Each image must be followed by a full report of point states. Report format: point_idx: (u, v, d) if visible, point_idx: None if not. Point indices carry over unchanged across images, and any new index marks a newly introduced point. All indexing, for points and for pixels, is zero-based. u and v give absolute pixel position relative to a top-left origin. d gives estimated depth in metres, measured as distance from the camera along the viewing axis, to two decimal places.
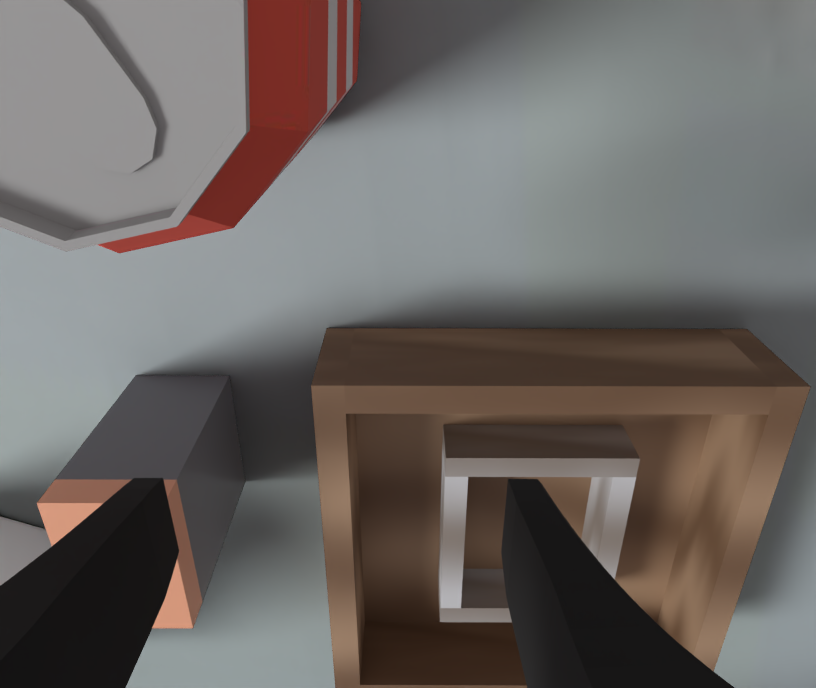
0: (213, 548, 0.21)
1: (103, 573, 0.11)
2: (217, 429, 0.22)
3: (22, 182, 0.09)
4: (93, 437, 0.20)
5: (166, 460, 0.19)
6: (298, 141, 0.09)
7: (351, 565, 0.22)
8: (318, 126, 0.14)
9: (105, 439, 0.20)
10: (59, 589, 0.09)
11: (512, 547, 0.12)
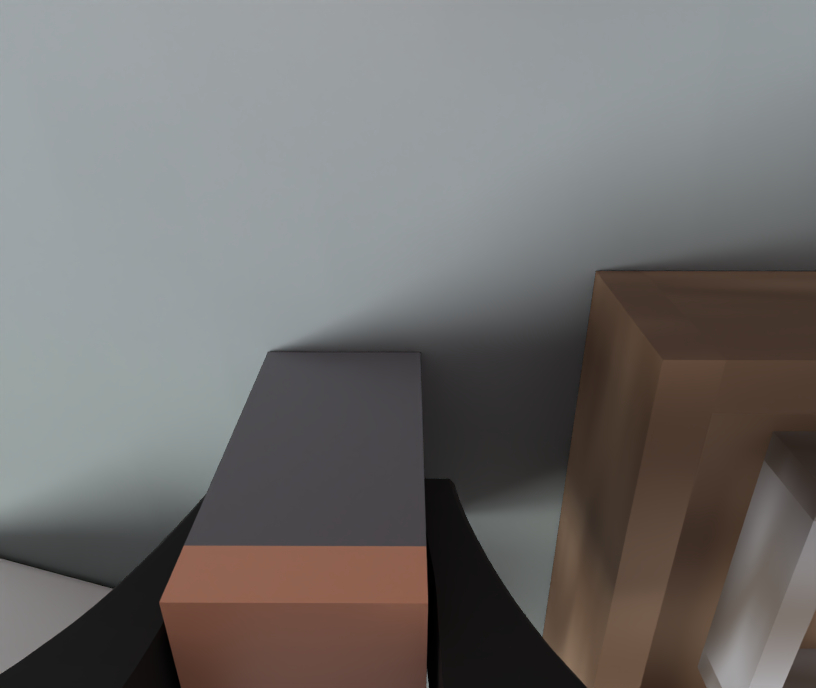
0: None
1: None
2: None
3: None
4: (232, 457, 0.11)
5: (387, 504, 0.10)
6: None
7: (641, 668, 0.13)
8: None
9: (256, 461, 0.11)
10: None
11: None
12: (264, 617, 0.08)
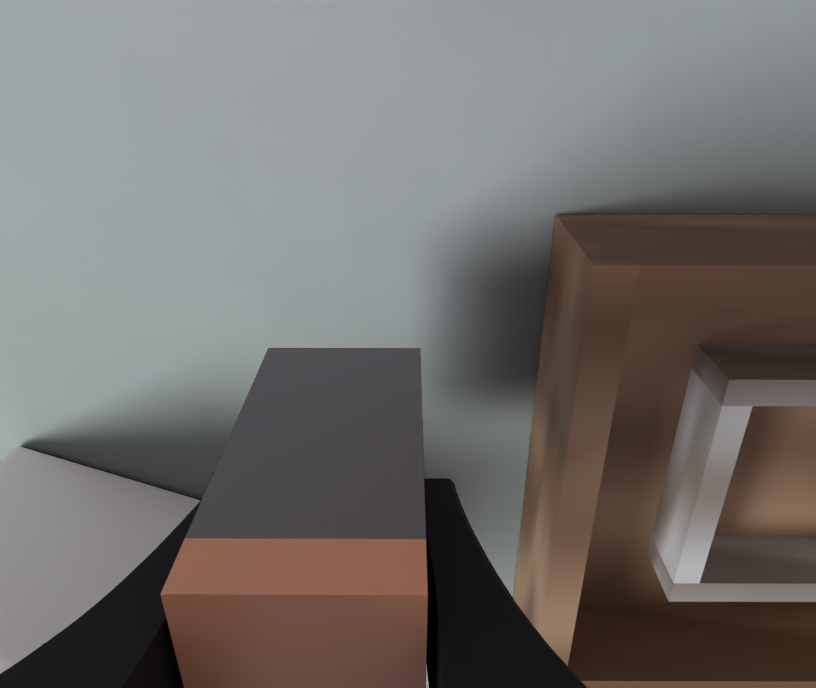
0: None
1: None
2: None
3: None
4: (233, 452, 0.11)
5: (386, 497, 0.10)
6: None
7: (590, 524, 0.17)
8: None
9: (256, 455, 0.11)
10: None
11: None
12: (264, 609, 0.08)
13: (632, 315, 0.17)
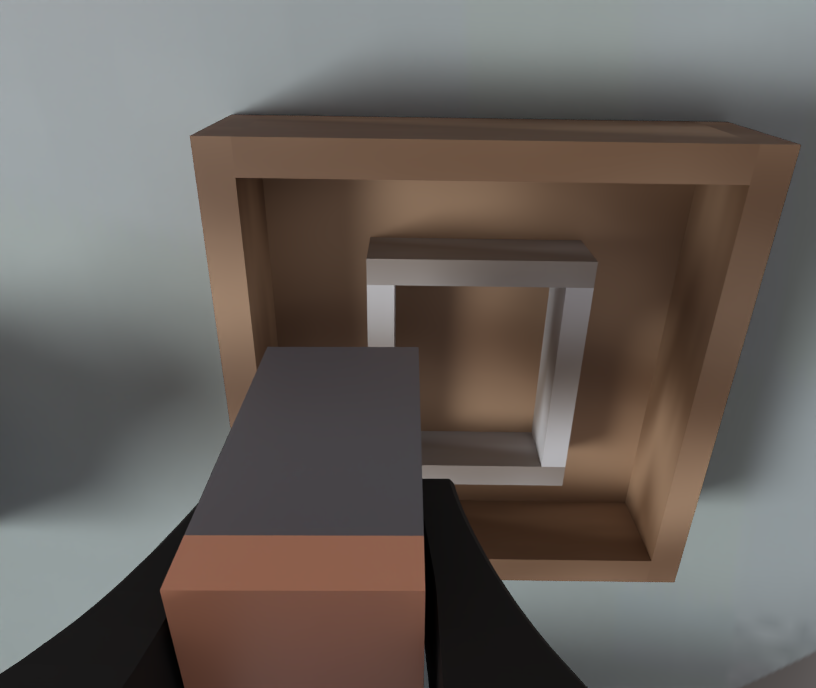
0: None
1: None
2: None
3: None
4: (232, 450, 0.11)
5: (385, 495, 0.10)
6: None
7: None
8: None
9: (255, 453, 0.11)
10: None
11: None
12: (263, 605, 0.08)
13: (305, 208, 0.19)
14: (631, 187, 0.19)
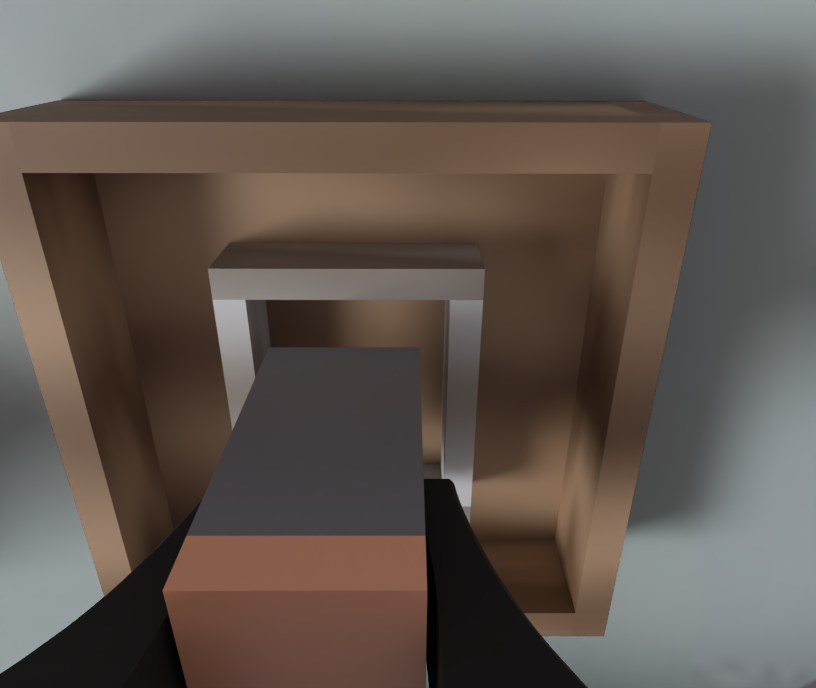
0: None
1: None
2: None
3: None
4: (234, 450, 0.11)
5: (386, 495, 0.10)
6: None
7: (89, 430, 0.16)
8: None
9: (257, 454, 0.11)
10: None
11: None
12: (266, 605, 0.08)
13: (149, 209, 0.16)
14: (530, 180, 0.16)
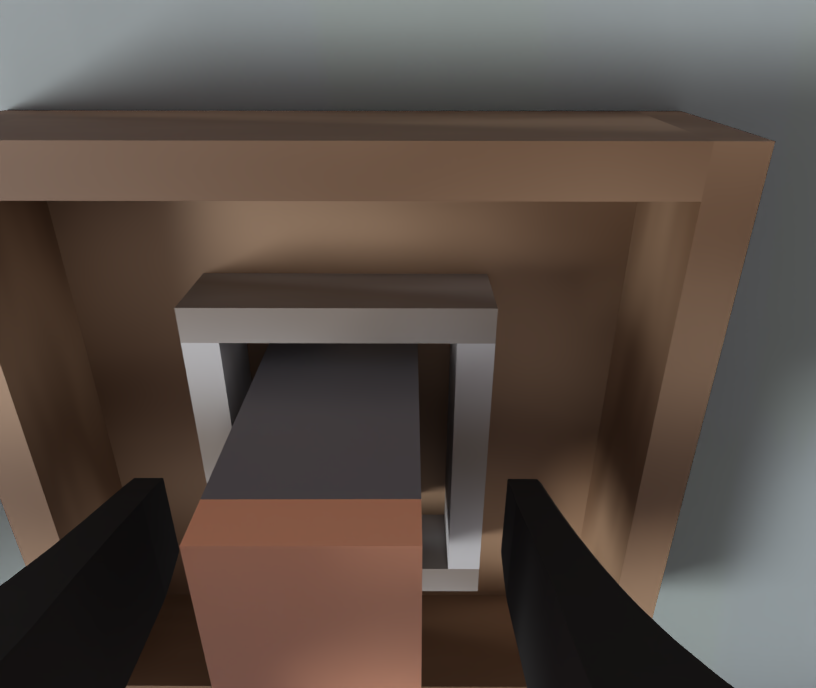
0: None
1: (103, 573, 0.11)
2: None
3: None
4: (242, 425, 0.12)
5: (385, 464, 0.11)
6: None
7: (40, 492, 0.14)
8: None
9: (264, 428, 0.12)
10: (59, 589, 0.09)
11: (512, 547, 0.12)
12: (274, 560, 0.09)
13: (110, 236, 0.14)
14: (549, 202, 0.14)
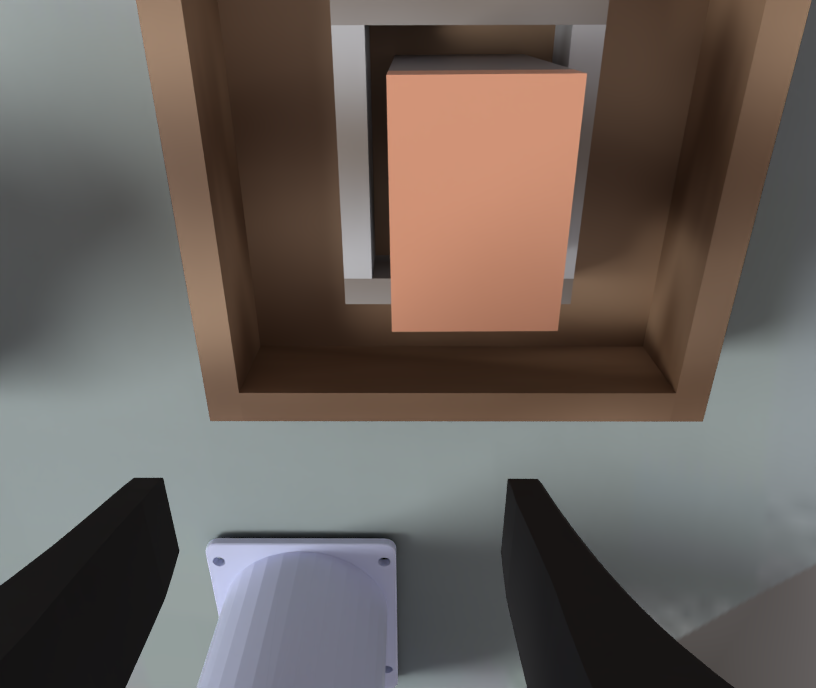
0: None
1: (103, 573, 0.11)
2: None
3: None
4: (399, 64, 0.14)
5: (533, 66, 0.13)
6: None
7: (202, 168, 0.16)
8: None
9: (419, 63, 0.14)
10: (59, 589, 0.09)
11: (512, 547, 0.12)
12: (462, 91, 0.11)
13: None
14: None
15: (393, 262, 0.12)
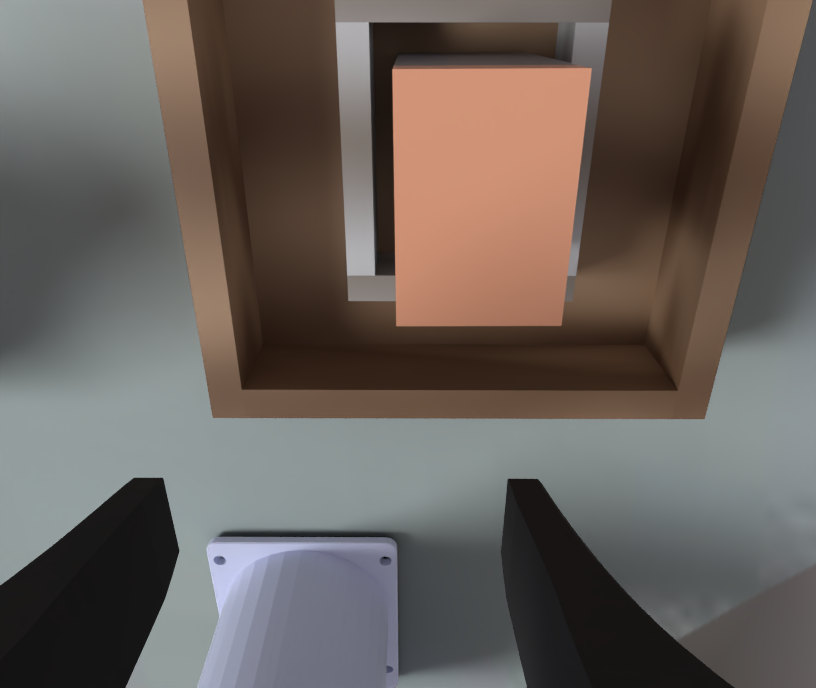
0: None
1: (103, 573, 0.11)
2: None
3: None
4: (403, 60, 0.14)
5: (538, 62, 0.13)
6: None
7: (207, 164, 0.16)
8: None
9: (423, 60, 0.14)
10: (59, 589, 0.09)
11: (512, 547, 0.12)
12: (467, 86, 0.11)
13: None
14: None
15: (398, 256, 0.13)
